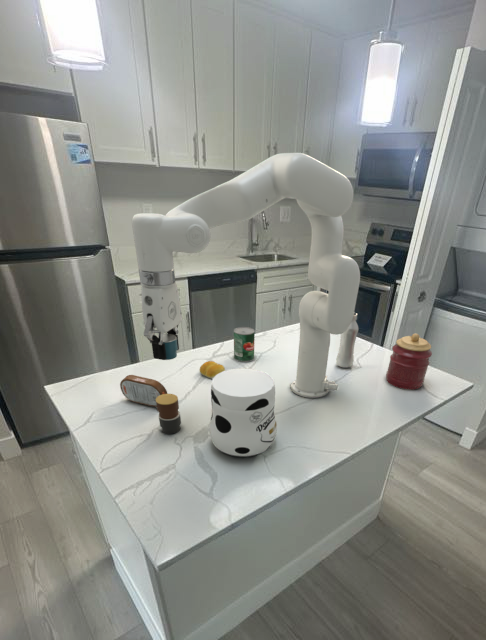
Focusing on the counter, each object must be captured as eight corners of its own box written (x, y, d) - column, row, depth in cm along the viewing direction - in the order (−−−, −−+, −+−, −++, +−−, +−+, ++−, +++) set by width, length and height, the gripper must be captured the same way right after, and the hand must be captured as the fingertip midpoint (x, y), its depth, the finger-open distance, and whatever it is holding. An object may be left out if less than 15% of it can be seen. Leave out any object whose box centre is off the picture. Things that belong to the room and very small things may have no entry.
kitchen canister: (409, 394, 125) (423, 344, 116) (377, 380, 133) (388, 332, 124) (429, 383, 133) (444, 335, 123) (398, 370, 141) (409, 324, 131)
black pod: (185, 425, 105) (183, 410, 102) (175, 436, 100) (173, 421, 97) (167, 422, 106) (165, 407, 103) (156, 432, 101) (154, 417, 98)
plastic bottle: (355, 365, 143) (364, 313, 132) (348, 371, 138) (357, 317, 127) (339, 361, 146) (347, 309, 135) (332, 366, 141) (339, 314, 130)
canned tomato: (236, 353, 149) (236, 326, 143) (255, 354, 148) (256, 327, 142) (231, 361, 142) (231, 333, 136) (252, 363, 141) (252, 334, 135)
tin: (169, 405, 113) (166, 380, 108) (164, 410, 111) (160, 385, 106) (127, 396, 117) (122, 371, 112) (121, 400, 114) (116, 375, 110)
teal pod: (182, 353, 95) (180, 335, 92) (171, 362, 90) (169, 343, 88) (162, 350, 96) (160, 332, 93) (150, 358, 91) (148, 339, 89)
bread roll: (213, 381, 128) (213, 370, 125) (196, 373, 132) (195, 363, 130) (230, 373, 133) (230, 363, 131) (213, 366, 137) (212, 356, 135)
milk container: (284, 457, 94) (289, 394, 84) (216, 468, 90) (212, 403, 80) (266, 421, 108) (268, 363, 98) (206, 428, 104) (201, 369, 94)
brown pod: (183, 411, 102) (181, 395, 99) (173, 421, 97) (171, 405, 95) (164, 407, 103) (162, 392, 100) (154, 417, 98) (151, 402, 96)
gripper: (152, 288, 75) (162, 370, 85) (190, 271, 89) (195, 344, 99) (119, 284, 77) (133, 365, 87) (161, 268, 91) (170, 340, 101)
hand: (166, 353), depth 93 cm, fingers closed on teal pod, 5 cm apart
